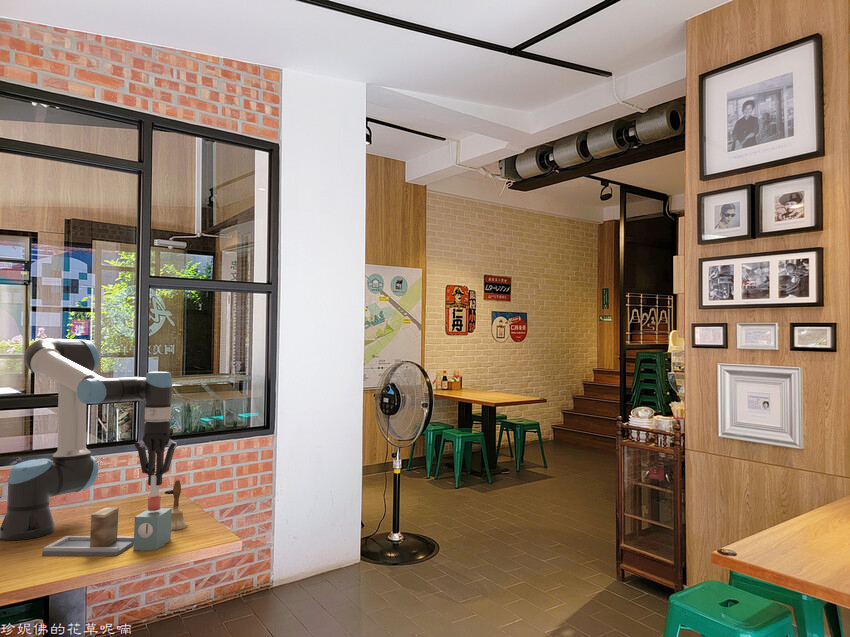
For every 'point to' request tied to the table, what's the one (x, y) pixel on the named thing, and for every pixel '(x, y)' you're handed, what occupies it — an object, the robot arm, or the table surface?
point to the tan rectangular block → (104, 527)
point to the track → (86, 547)
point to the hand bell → (177, 509)
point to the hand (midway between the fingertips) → (154, 495)
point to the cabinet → (152, 529)
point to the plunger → (154, 503)
